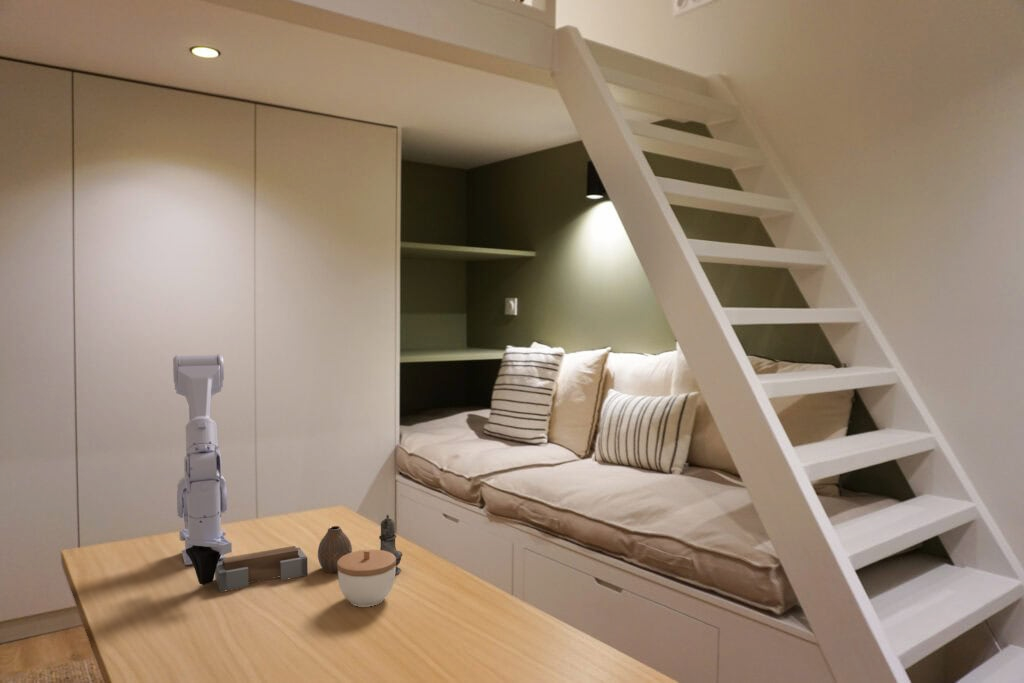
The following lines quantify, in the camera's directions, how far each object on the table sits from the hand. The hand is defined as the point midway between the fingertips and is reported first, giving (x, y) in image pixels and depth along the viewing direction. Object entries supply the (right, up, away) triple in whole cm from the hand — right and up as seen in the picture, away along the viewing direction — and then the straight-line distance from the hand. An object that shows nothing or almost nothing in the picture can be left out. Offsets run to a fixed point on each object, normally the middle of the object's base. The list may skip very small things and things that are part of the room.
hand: (206, 582), depth 135 cm
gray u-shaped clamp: (+4, -1, +2) cm, 5 cm away
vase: (+23, -1, +10) cm, 25 cm away
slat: (+9, -1, +5) cm, 10 cm away
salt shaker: (+34, -1, +8) cm, 35 cm away
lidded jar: (+32, -2, -6) cm, 33 cm away
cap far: (+14, -1, +8) cm, 16 cm away
